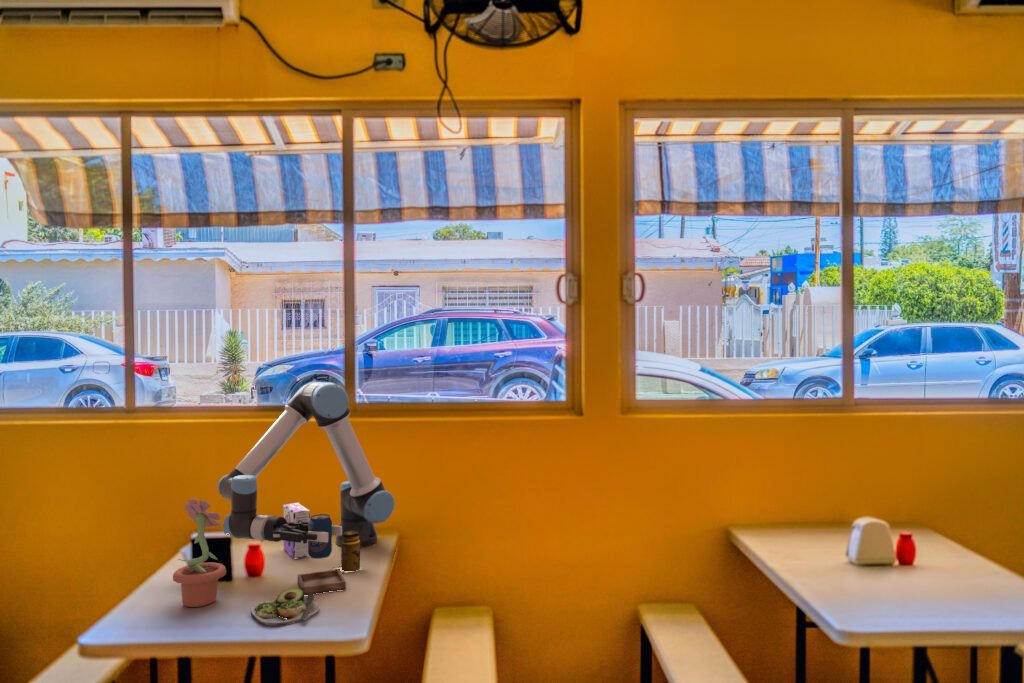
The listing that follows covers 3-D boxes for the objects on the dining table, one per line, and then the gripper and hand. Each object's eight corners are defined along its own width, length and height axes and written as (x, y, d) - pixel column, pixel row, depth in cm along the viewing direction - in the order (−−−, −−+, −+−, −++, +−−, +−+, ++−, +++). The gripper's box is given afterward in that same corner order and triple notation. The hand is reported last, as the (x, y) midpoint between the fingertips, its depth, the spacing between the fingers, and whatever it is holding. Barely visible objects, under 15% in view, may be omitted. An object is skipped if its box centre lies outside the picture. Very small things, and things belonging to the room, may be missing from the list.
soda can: (307, 560, 196) (307, 519, 196) (308, 553, 202) (308, 514, 202) (331, 558, 197) (331, 518, 197) (332, 551, 204) (332, 513, 204)
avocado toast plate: (334, 618, 177) (334, 601, 177) (266, 636, 166) (266, 617, 166) (309, 597, 192) (309, 581, 192) (245, 612, 181) (245, 595, 181)
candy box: (282, 549, 237) (282, 504, 237) (299, 547, 240) (299, 501, 240) (293, 560, 225) (293, 511, 226) (310, 556, 229) (310, 509, 229)
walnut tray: (339, 576, 208) (339, 568, 208) (345, 590, 197) (345, 581, 197) (297, 582, 203) (297, 574, 203) (301, 596, 192) (301, 587, 192)
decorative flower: (240, 597, 191) (239, 494, 192) (203, 615, 178) (202, 504, 179) (200, 591, 196) (200, 490, 197) (161, 608, 183) (161, 500, 184)
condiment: (364, 570, 215) (364, 533, 215) (339, 575, 210) (338, 537, 210) (356, 564, 221) (356, 528, 221) (331, 568, 216) (331, 532, 216)
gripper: (289, 532, 215) (351, 537, 208) (248, 549, 196) (315, 556, 189) (289, 509, 215) (351, 513, 208) (248, 524, 196) (315, 530, 189)
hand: (334, 534), depth 198 cm, fingers closed on soda can, 7 cm apart
